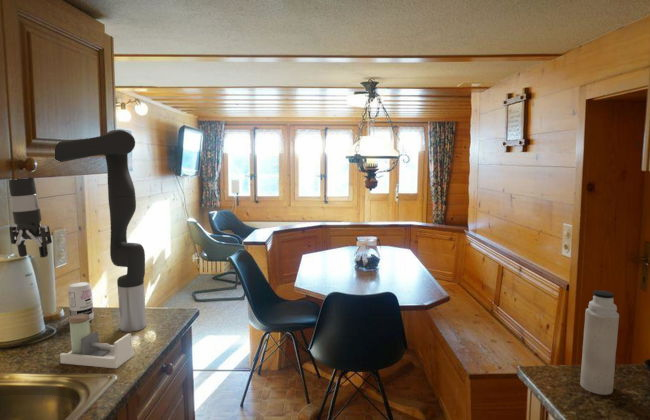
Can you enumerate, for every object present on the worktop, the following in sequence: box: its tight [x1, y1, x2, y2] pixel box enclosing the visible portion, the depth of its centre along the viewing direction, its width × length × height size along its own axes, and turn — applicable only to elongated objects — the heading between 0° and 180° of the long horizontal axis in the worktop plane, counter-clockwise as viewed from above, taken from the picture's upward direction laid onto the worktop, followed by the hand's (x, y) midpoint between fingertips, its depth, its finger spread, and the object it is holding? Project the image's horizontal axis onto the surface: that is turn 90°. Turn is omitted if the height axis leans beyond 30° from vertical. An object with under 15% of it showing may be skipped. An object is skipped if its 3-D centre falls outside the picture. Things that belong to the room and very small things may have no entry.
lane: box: [59, 332, 135, 369], centre depth 145 cm, size 20×9×8 cm, turn 79°
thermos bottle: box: [579, 290, 620, 396], centre depth 125 cm, size 8×8×28 cm
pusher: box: [81, 330, 110, 356], centre depth 145 cm, size 7×7×7 cm
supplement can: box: [67, 281, 95, 322], centre depth 178 cm, size 8×8×15 cm
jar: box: [68, 314, 91, 355], centre depth 145 cm, size 6×6×13 cm
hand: (33, 256), depth 148 cm, fingers open, 8 cm apart
